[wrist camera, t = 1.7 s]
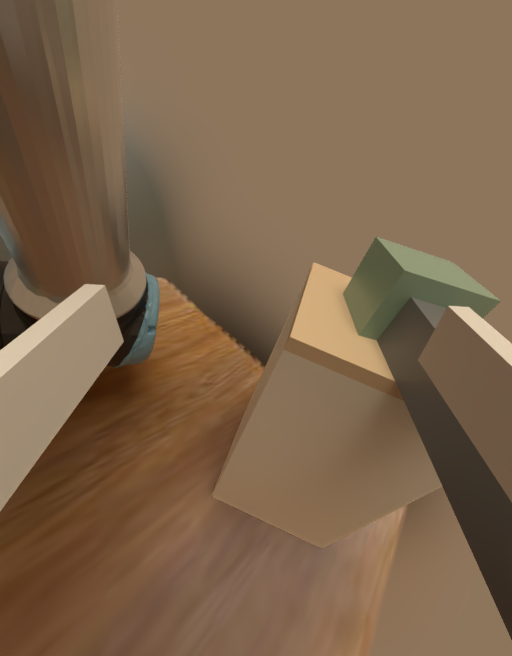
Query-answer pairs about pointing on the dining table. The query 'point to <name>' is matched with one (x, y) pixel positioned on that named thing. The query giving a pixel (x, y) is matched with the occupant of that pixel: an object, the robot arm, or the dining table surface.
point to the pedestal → (325, 428)
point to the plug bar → (423, 397)
